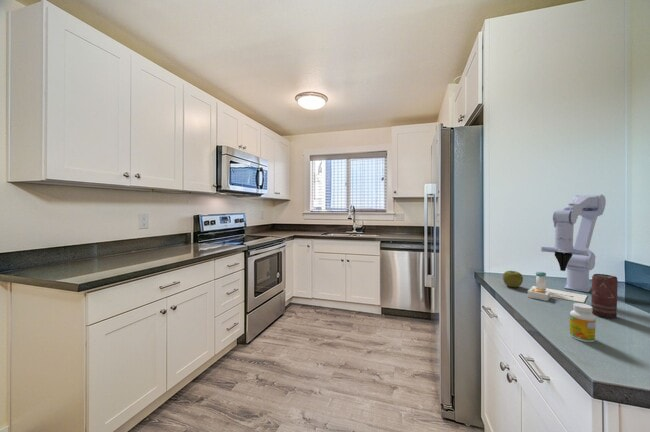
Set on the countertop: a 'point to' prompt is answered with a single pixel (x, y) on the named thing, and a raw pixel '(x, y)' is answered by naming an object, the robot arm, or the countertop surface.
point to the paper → (566, 295)
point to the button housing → (539, 294)
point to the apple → (512, 278)
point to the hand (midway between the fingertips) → (563, 270)
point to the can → (604, 295)
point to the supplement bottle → (582, 323)
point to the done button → (539, 291)
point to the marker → (541, 280)
